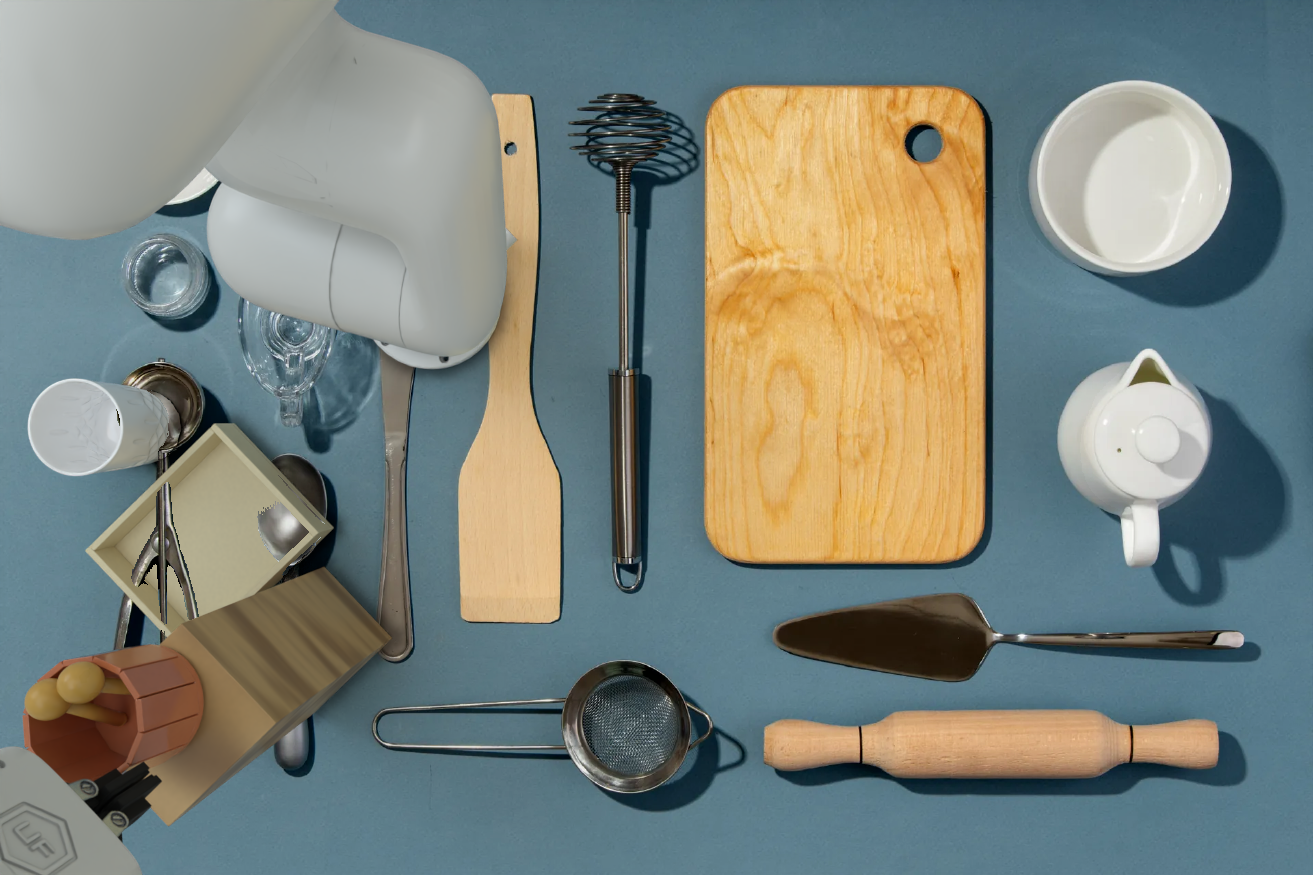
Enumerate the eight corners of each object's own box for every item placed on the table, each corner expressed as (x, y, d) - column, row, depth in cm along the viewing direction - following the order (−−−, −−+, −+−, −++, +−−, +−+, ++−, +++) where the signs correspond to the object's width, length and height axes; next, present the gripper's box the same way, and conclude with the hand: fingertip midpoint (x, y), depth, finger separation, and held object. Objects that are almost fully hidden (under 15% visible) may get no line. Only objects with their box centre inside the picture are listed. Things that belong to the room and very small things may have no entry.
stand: (324, 566, 85) (181, 623, 61) (392, 638, 85) (276, 723, 61) (246, 641, 85) (74, 727, 61) (314, 713, 85) (168, 827, 61)
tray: (234, 423, 85) (214, 423, 81) (334, 527, 85) (318, 532, 81) (109, 545, 85) (84, 550, 82) (208, 649, 85) (187, 659, 82)
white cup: (192, 387, 85) (127, 383, 75) (185, 473, 85) (118, 480, 75) (108, 379, 85) (31, 373, 75) (100, 465, 85) (23, 471, 75)
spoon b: (134, 694, 61) (46, 665, 54) (145, 723, 59) (57, 698, 53) (102, 717, 60) (9, 691, 54) (113, 748, 59) (19, 724, 53)
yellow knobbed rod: (170, 663, 60) (74, 651, 53) (182, 695, 59) (86, 686, 52) (141, 685, 60) (41, 675, 53) (153, 717, 59) (52, 711, 52)
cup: (161, 620, 61) (97, 631, 55) (226, 715, 60) (166, 736, 54) (74, 692, 61) (-1, 710, 55) (136, 787, 60) (67, 817, 54)
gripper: (58, 1042, 36) (269, 836, 54) (-206, 762, 36) (93, 651, 54) (-78, 1174, 36) (178, 924, 54) (-340, 895, 36) (4, 740, 55)
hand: (135, 788), depth 54 cm, fingers closed
